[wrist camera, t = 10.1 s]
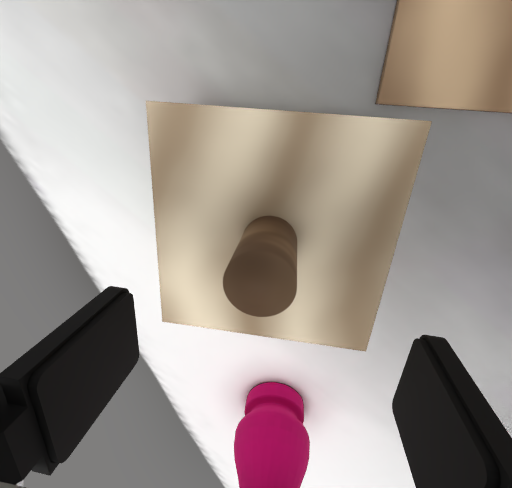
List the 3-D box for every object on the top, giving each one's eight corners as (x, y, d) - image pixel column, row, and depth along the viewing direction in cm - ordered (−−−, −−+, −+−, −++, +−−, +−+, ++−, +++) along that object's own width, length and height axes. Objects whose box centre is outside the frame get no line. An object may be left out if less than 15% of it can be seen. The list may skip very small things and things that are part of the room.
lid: (423, 121, 14) (500, 121, 9) (362, 340, 20) (387, 423, 14) (154, 101, 16) (78, 91, 10) (168, 313, 21) (123, 379, 16)
